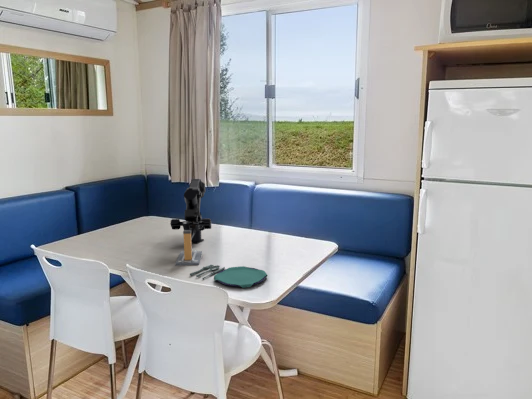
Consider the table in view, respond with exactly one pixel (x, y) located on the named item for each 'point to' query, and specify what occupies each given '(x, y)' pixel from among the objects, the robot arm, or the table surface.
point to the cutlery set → (235, 275)
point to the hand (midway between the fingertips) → (190, 239)
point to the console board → (195, 260)
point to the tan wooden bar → (187, 245)
